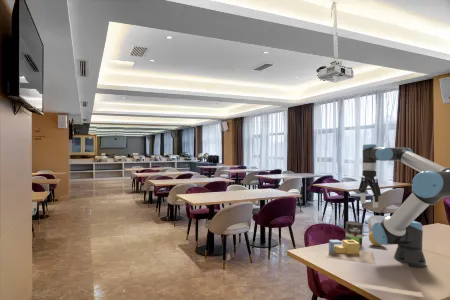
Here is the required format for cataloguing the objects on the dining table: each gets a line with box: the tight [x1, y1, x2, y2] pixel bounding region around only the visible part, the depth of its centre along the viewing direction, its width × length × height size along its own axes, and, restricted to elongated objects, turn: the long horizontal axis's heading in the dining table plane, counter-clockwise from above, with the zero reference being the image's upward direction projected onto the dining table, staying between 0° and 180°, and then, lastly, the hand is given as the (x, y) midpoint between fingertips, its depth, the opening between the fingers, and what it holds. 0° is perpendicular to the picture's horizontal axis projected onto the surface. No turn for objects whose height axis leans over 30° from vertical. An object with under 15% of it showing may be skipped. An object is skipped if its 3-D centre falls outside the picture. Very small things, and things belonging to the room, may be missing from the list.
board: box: [327, 250, 376, 265], centre depth 177 cm, size 24×20×2 cm
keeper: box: [328, 239, 343, 253], centre depth 182 cm, size 6×5×6 cm
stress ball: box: [368, 230, 381, 247], centre depth 200 cm, size 10×10×10 cm
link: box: [334, 239, 361, 254], centre depth 182 cm, size 13×7×6 cm, turn 93°
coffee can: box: [345, 220, 364, 248], centre depth 201 cm, size 10×10×14 cm
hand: (368, 205), depth 185 cm, fingers open, 13 cm apart
